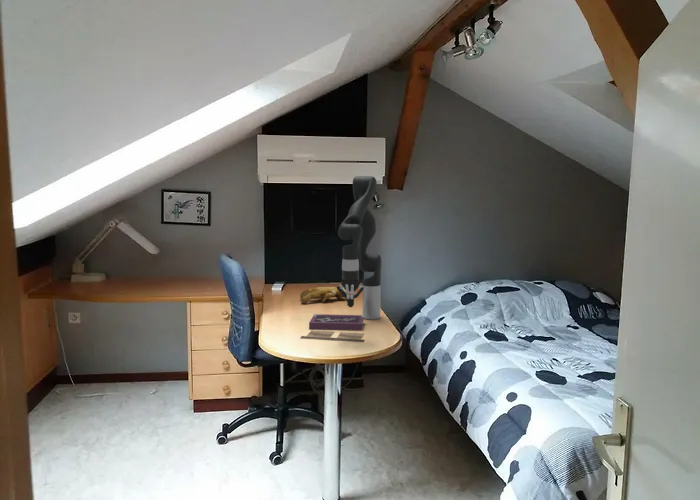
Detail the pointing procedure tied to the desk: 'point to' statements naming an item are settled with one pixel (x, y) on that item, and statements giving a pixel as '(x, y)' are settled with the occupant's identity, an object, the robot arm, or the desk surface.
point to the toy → (320, 294)
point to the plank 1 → (320, 333)
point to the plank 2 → (350, 335)
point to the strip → (332, 339)
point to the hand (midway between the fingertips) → (350, 306)
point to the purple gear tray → (336, 322)
